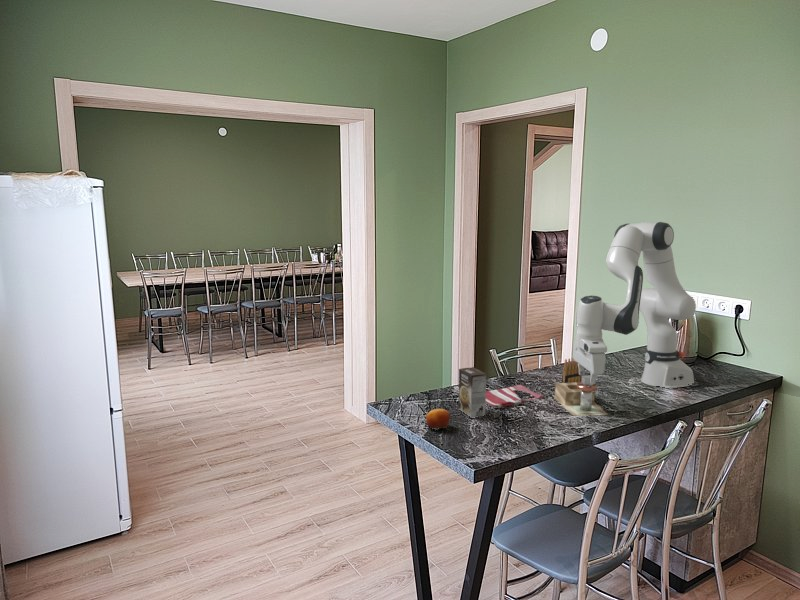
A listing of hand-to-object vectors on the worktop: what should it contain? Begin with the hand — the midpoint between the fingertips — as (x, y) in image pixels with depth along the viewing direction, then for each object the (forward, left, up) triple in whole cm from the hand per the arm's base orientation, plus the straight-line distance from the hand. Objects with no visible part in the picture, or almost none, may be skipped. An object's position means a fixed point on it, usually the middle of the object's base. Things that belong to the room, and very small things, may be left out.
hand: (587, 379), depth 214 cm
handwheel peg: (0, 0, -11) cm, 11 cm away
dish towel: (+24, -18, -13) cm, 33 cm away
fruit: (+55, +9, -13) cm, 57 cm away
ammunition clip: (-7, -31, -13) cm, 34 cm away
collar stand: (0, -6, -12) cm, 14 cm away
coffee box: (+41, -3, -13) cm, 43 cm away
